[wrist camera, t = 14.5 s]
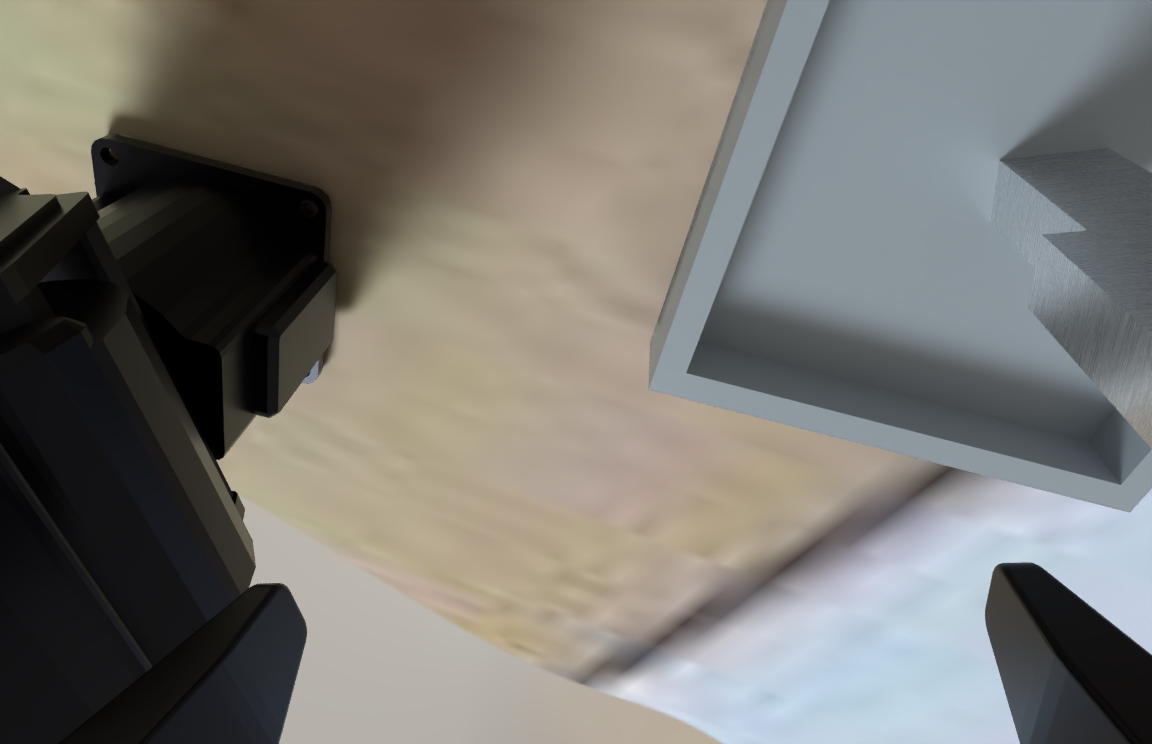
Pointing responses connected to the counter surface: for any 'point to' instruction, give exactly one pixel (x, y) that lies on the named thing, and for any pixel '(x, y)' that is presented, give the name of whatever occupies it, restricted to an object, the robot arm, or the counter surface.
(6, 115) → the counter surface
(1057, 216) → the grey rectangular block
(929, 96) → the tray
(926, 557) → the counter surface
